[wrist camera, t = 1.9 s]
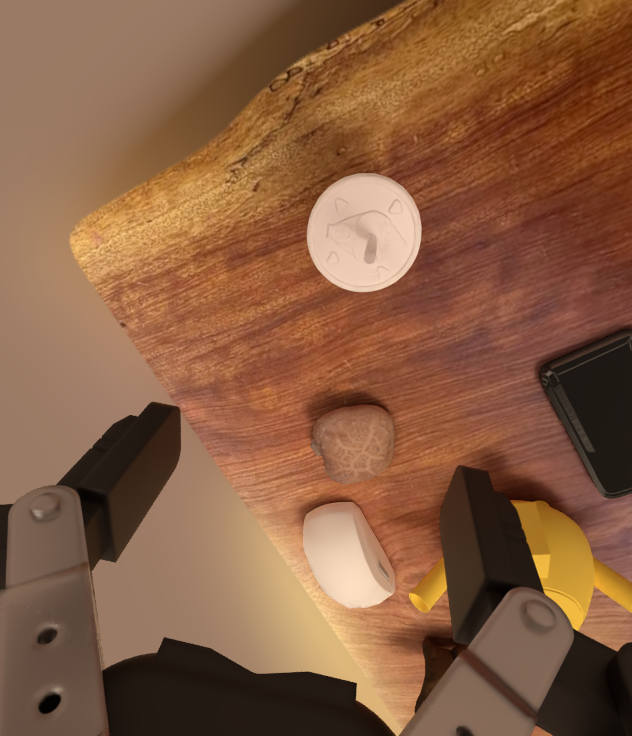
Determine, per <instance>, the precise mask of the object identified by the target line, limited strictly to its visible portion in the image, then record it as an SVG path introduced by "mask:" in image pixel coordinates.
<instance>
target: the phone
mask: <svg viewBox="0 0 632 736" xmlns="http://www.w3.org/2000/svg"><path fill="white" fill-rule="evenodd" d="M539 378H540V380H541V382H542V384H543V386H544V388H545V392H546V394H547V396H548V397H549V398H550V400H551V401H550V402H551V404H552V406H553V408H554V409H555V410H556V411H557V412H556V414H557V416H558V418H559V419H560V420H561V421H562V423H563V424H564V426H565V428H566V430H567V432H568V434H569V436H570V438H571V440H572V442H573V444H574V445H575V447H576V449H577V451H578V453H579V455H580V457H581V459H582V461H583V463H584V465H585V466H586V468H587V470H588V472H589V474H590V476H591V478H592V480H593V482H594V484H595V486H596V487H597V489H598V491H599V493H600V494H601V495H602V496H603V497H605V498H609V499H614V498H619V497H622V496H625V495H628V494H631V493H632V329H625V330H621V331H619V332H616V333H614V334H612V335H610V336H607V337H605V338H603V339H601V340H598V341H596V342H594V343H591V344H589V345H587V346H585V347H582V348H580V349H578V350H576V351H573V352H571V353H569V354H566V355H564V356H562V357H560V358H557V359H555V360H553V361H551V362H548V363H547V364H545V365H544V366H543V367H542V368H541V370H540V372H539Z"/></svg>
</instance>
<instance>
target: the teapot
mask: <svg viewBox="0 0 632 736" xmlns="http://www.w3.org/2000/svg"><path fill="white" fill-rule="evenodd" d="M510 501H511V503H512V504H513V505H514V506H515V508H516V509H517V512H518V515H519V518H520V521H521V524H522V529H523V530H524V533H525V536H526V539H527V540H526V542H527V543H528V545H529V548H530V551H531V554H532V557H533V560H534V563H535V566H536V569H537V572H538V575H539V578H540V581H541V584H542V587H543V590H544V593H545V595H547V596H548V597H550V598H551V599H552V600H553V601H555V602H556V603H557V604H558V605H559V606H560V607H561V608H562V610H563V611H564V612H565V613H566V615H567V617H568V618H569V620H570V622H571V625H572V628H574V629H575V630H577V631H578V630H579V628H580V627H581V625H582V623H583V621H584V619H585V617H586V614H587V611H588V608H589V604H590V601H591V597H592V593H593V588H594V586H595V587H596V588H598V589H599V590H601V591H602V592H603V593H605V594H606V595H608V596H609V597H610V598H612V599H613V600H615V601H616V602H617V603H619V604H620V605H622V606H623V607H624V608H626V609H627V610H629V611H630V612H631V613H632V583H631V582H630V581H628V580H627V579H625V578H624V577H622V576H621V575H620V574H618V573H617V572H615V571H614V570H612V569H611V568H609V567H608V566H606V565H605V564H603V563H602V562H600V561H599V560H597V559H596V558H594V557H593V556H592V553H591V549H590V546H589V543H588V541H587V538H586V536H585V534H584V533H583V531H582V530H581V528H580V527H579V526H578V525H577V524H576V523H575V522H574V521H573V520H571V519H570V518H569V517H568V516H566V515H565V514H563V513H562V512H560V511H558V510H556V509H553V508H551V507H550V506H549V504H548V503H546V502H544V501H533V502H529V501H522V500H510ZM446 589H447V583H446V575H445V567H444V559H443V557H442V558H441V559H440V560H439V561H438V563H437V564H436V565H435V566H434V567H433V568H432V569H431V570H430V571H429V573H428V574H427V575H426V576H425V577H424V578H423V579H422V580H421V581H420V583H419V584H418V585H417V586H416V587H415V588H414V589H413V590H412V592H411V593H410V594H409V597H410V600H411V601H412V603H413V604H414V605H415V606H416V607H417V608H418V609H419V610H421V611H422V612H425V613H427V612H428V611H429V610H430V609H431V608H432V606H433V605H434V604H435V603H436V601H437V600H438V599H439V598H440V596H441V595H442V594H443V593H444V591H445V590H446Z"/></svg>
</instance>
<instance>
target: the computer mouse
mask: <svg viewBox="0 0 632 736" xmlns="http://www.w3.org/2000/svg"><path fill="white" fill-rule="evenodd" d="M303 546H304V551H305V554H306V556H307V559H308V562H309V565H310V568H311V570H312V572H313V574H314V576H315V578H316V580H317V581H318V583H319V585H320V587H321V588H322V590H323V591H324V592H325V593H326V594H327V595H328V596H329V597H330V598H331V599H333V600H334V601H336V602H338V603H340V604H341V605H343V606H345V607H347V608H360V607H362V608H366V607H371V606H373V605H377V604H380V603H381V602H382V601H384V600H385V599H386V598H388V597H389V596H391V595H392V594H393V593H394V591H395V574H394V571H393V568H392V566H391V564H390V562H389V560H388V558H387V556H386V554H385V552H384V550H383V548H382V547H381V545H380V543H379V541H378V539H377V538H376V536H375V534H374V532H373V531H372V529H371V527H370V525H369V523H368V522H367V520H366V518H365V516H364V515H363V513H362V511H361V509H360V508H359V507H358V506H357V505H356V504H355V503H354V502H337V503H330V504H325V505H322V506H320V507H317V508H315V509H313V510H312V511H310V512H309V513H307V515H306V517H305V520H304V525H303Z"/></svg>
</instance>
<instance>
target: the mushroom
mask: <svg viewBox="0 0 632 736" xmlns="http://www.w3.org/2000/svg"><path fill="white" fill-rule="evenodd" d="M313 438H314V439H313V440H312V442H311V448H312V449H313V451H314V452H315V453H316V455H317V456H318V457H319V456H322V457H323V459H324V461H325V462H324V466H325V468H324V470H326V472H327V474H328V476H329V477H331V479H332V480H334V481H336V482H339V483H342V484H353V483H357V482H361V481H363V480H369V479H372V478H373V477H376V476H378V475H379V474H381V473H382V472H383V471H384V470H385V469H386V468H387V467H388V465H389V464H390V462H391V461H392V458H393V454H394V444H395V428H394V420H392V417H391V416H390V414H389V413H388V412H387V411H385V410H384V409H383V408H381V407H379V406H375V405H365V404H361V405H354V406H350V407H347V406H346V407H341V408H338V409H335V410H332V411H329V412H327V413H325V414H323V415H322V416H321V417H320V418H319V419H317V421H316V423H315V425H314V427H313Z"/></svg>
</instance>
